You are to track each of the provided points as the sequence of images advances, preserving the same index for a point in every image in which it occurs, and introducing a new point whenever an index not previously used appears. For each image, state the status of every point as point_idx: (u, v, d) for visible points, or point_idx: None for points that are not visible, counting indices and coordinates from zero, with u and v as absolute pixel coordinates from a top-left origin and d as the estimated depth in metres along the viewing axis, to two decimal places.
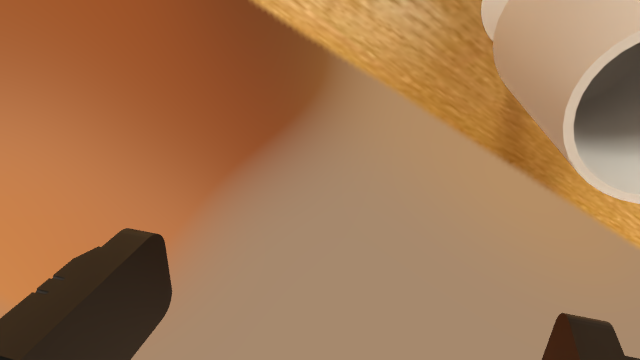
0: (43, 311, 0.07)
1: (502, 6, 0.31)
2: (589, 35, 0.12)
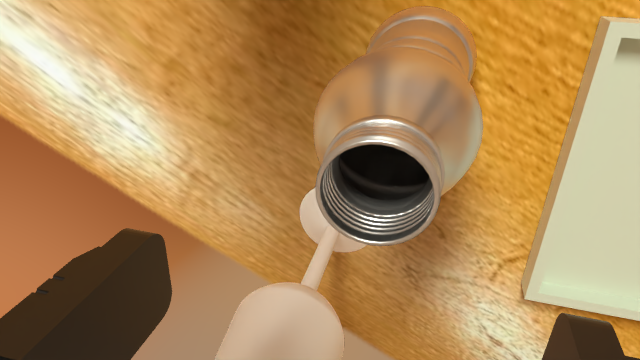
0: (43, 311, 0.07)
1: (311, 221, 0.38)
2: None
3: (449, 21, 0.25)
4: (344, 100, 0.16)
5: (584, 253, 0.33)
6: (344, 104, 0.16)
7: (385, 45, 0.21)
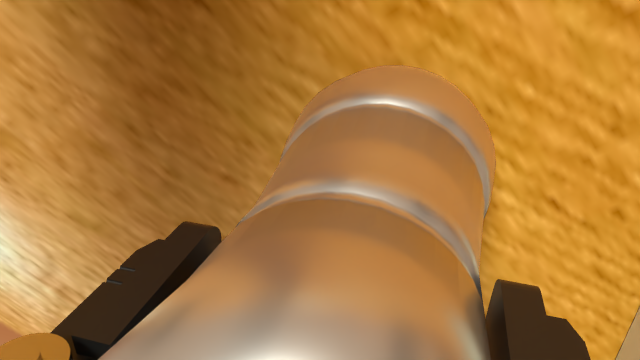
0: (122, 299, 0.08)
1: None
2: None
3: (442, 108, 0.12)
4: None
5: None
6: None
7: (260, 228, 0.07)
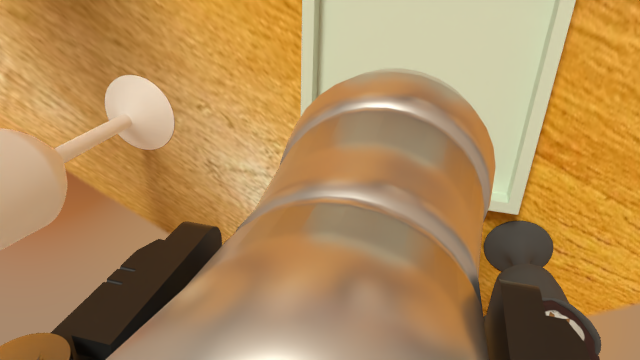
0: (123, 299, 0.08)
1: (112, 115, 0.39)
2: None
3: (441, 111, 0.12)
4: None
5: None
6: None
7: (260, 233, 0.08)
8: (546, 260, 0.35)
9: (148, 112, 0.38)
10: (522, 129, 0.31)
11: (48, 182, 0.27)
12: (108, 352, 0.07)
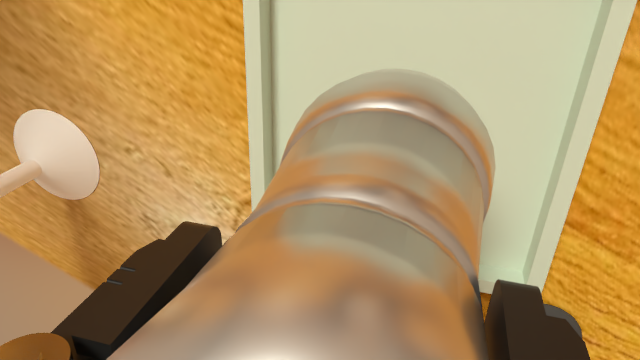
0: (122, 299, 0.08)
1: (21, 159, 0.31)
2: None
3: (441, 112, 0.12)
4: None
5: None
6: None
7: (260, 233, 0.08)
8: None
9: (63, 157, 0.30)
10: (545, 192, 0.23)
11: None
12: (108, 352, 0.07)
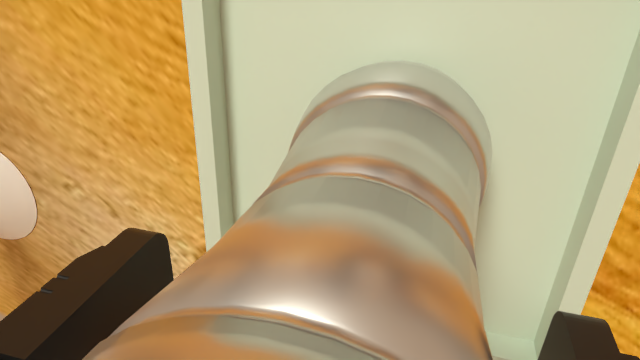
0: (48, 310, 0.07)
1: None
2: None
3: (440, 99, 0.13)
4: None
5: None
6: None
7: (276, 202, 0.08)
8: None
9: None
10: (563, 251, 0.19)
11: None
12: None
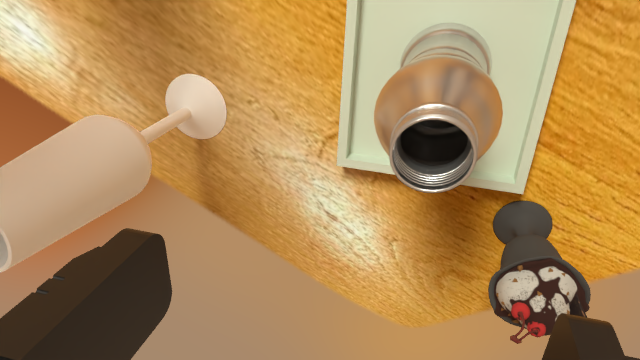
0: (43, 311, 0.07)
1: (172, 108, 0.45)
2: None
3: (471, 35, 0.32)
4: (403, 92, 0.22)
5: None
6: (403, 95, 0.22)
7: (425, 53, 0.27)
8: (546, 235, 0.41)
9: (205, 106, 0.44)
10: (527, 122, 0.37)
11: (142, 159, 0.33)
12: None
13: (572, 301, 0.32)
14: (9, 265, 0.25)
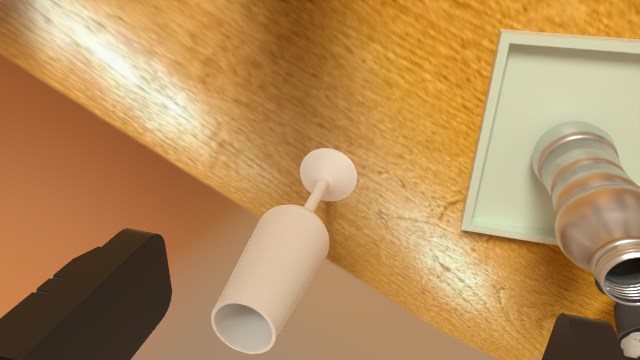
0: (43, 311, 0.07)
1: (308, 177, 0.52)
2: (224, 290, 0.32)
3: (605, 138, 0.38)
4: (597, 220, 0.29)
5: (501, 195, 0.47)
6: (597, 222, 0.29)
7: (586, 169, 0.34)
8: None
9: (340, 176, 0.50)
10: None
11: (327, 242, 0.39)
12: None
13: None
14: (268, 349, 0.32)
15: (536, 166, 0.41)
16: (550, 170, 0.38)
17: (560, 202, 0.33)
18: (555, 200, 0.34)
